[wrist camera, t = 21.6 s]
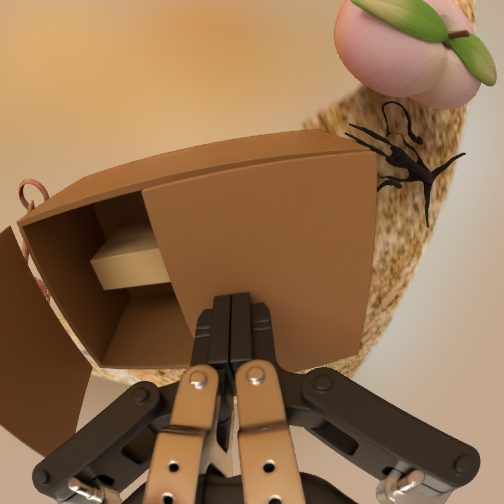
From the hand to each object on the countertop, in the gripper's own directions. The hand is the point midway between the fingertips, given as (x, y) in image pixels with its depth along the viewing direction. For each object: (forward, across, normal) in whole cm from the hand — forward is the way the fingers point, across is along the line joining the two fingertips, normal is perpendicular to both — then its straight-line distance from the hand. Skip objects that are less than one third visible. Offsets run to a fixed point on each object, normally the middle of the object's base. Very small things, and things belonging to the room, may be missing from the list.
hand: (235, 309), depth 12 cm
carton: (+10, +2, 0) cm, 10 cm away
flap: (+1, -2, 0) cm, 2 cm away
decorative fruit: (+10, -12, -12) cm, 19 cm away
